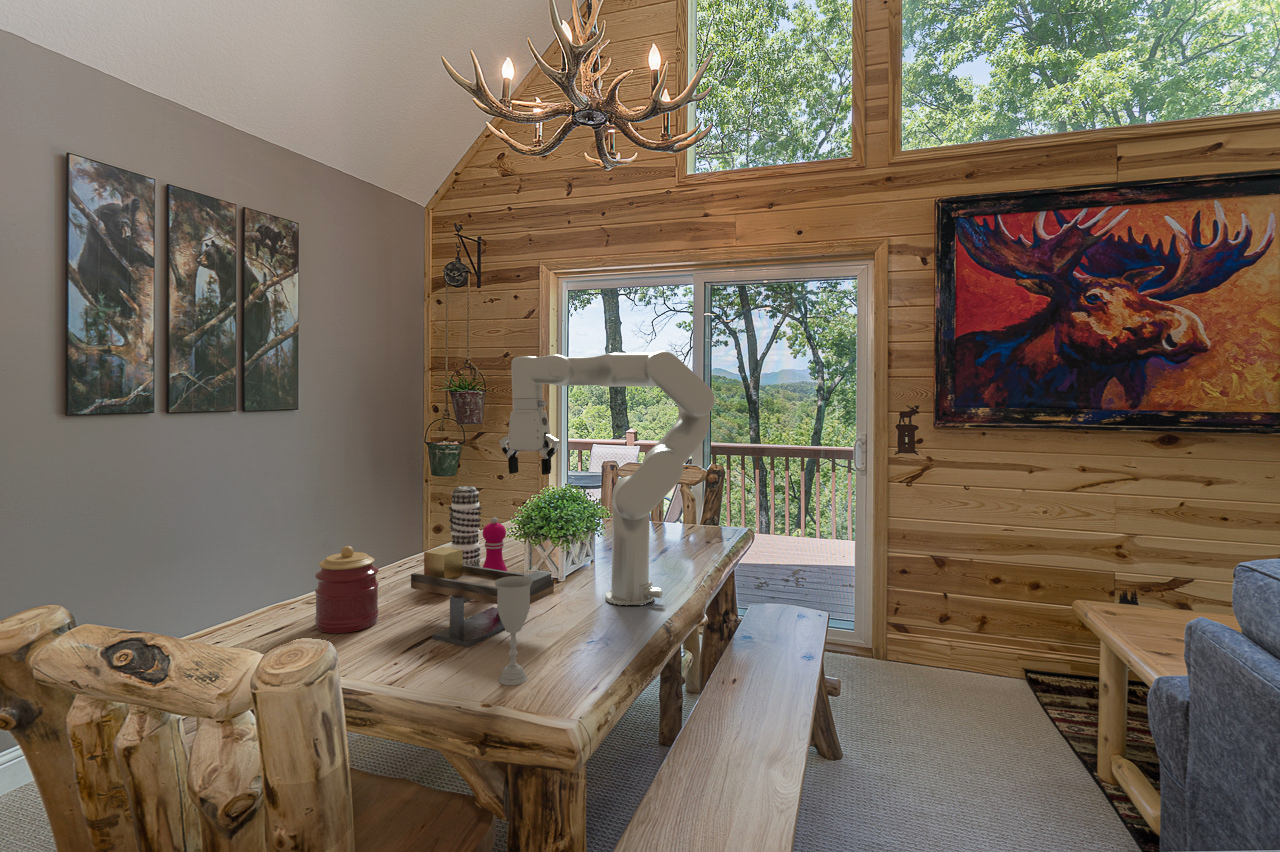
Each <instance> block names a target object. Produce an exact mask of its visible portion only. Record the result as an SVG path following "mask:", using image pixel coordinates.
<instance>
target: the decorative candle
mask: <svg viewBox="0 0 1280 852" xmlns="http://www.w3.org/2000/svg"><path fill="white" fill-rule="evenodd" d="M479 493H480V491H478V490H477V488H476V487H475V486H467V485H464V486H457V487H455V488H454V489H453V491H452V492H450V494H451V496H452V497H451V506H449V507H448V510H449V511H450V513H449V514H448V515H449V517H450V518H449V522H450V526H449V529H450V534H451V545H450V548H456V549H463V564H464V565H470V566H476V567H481V564H480V562H481V559H480V556H481V553H480V550H481V547H480V541H479V537H480V536H479V534H480V533H481V530H480V529H479V528H480V527H481V526H482V525H481V524H480V522H481V521H482V519H481V518H480V517H479V516H481V515H482V512H481V510H482V509H483V507H482V506H481V505H480V501H479V499H480V498H479V497H480V496H479Z"/></svg>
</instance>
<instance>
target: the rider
mask: <svg viewBox="0 0 1280 852" xmlns="http://www.w3.org/2000/svg"><path fill="white" fill-rule="evenodd" d="M423 575H429V576H434V577H440V578H446V579H453V578H456V577H459V576H462V575H463V549H456V548H451V547H447V546H440V547H437V548H433V549H430V550H426V551H424V553H423Z"/></svg>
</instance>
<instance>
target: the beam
mask: <svg viewBox="0 0 1280 852" xmlns="http://www.w3.org/2000/svg"><path fill="white" fill-rule="evenodd" d="M509 576H523V577H528V578H531V579H532V580H533V582H532V584H531V586H530V605H532V604H534V603H536V602H537V601H539V600H542V599H544V598H546V597H548V596H550V595H552V594H554V592H555V591H554V590H555V587H554V585H555V581H554V580H555V578H552V573H550V572H545V571H537V570H536V571H533V572H531V573H529V574H526V573H521V572H515V571H508V570H507V571H502V570H496V569H489V568H483V566H480V567H476V566H470V565H464V564H463V575H462V576H459V577H456V578H453V579H446V578H440V577H434V576H429V575H424V573H417V572H412V573H410V589H413V590H418V591H424V592H429V593H433V594H438V593H439V595H446V596H449V597H451V596H454V595H458V596H463V597H464V604H467V603H469V602H472V601H478V602H484V603H489V604H493V605H494V604H495V605H497V587H496V585H495V581H496V580H498V579H500V578H503V577H509Z"/></svg>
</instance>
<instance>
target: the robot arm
mask: <svg viewBox="0 0 1280 852" xmlns="http://www.w3.org/2000/svg"><path fill="white" fill-rule="evenodd" d="M510 365H511V369H510V370H511V391H512V392H511V394H512V401H511V402H512V411H510V415H509V421H508V434H507V435H506V436H504V437H503V438H501V439H499V441H498V443H499V445H500V447H501V451H502V453H503V454H504V455H505V457H506V458H507V460H508V461H507V462H508V464H507V466H508V473H509V475H512V474H517V473H519V457H518V456H517V455H518V454H519V452H539V453H540V455H541V456H542V458H541V460H540V461H541V462H540V463H541V465H540V466H541V475H543V476H547V475H550V474H552V473H551V472H552V459H553V457H554V455H555V454H556V453H557V452H558V448H559V445H560V443H561V442H560V441H561V440H559V439H558V438H556V437H554V436H552V435H551V429H550V428H551V427H550V423H549V417H548V413H547V411H546V410H544V407H547V404H548V402H547V400H544V398H543V394H544V393H543V392H544V391H543V384H545V385H553V386H560V387H561V386H566V387H567V386H599V387H607V388H608V387H609V388H610V387H611V388H613V387H614V388H615V387H617V388H618V387H622V388H623V387H658V388H659V389H660V390H661V391H662V392H663V393H664V394H665V395H667V396H668V397H669V398H670V399H671V400H672V401H673V402H674V403H675V404H676V407H677V409H678V415H677V419H676V421H675V423H674V424H673V425H672V426H671V428H670V429H668V431H667V432H666V433H665V434H664V436H663V437H662V438H661V439H660V440H659V441H658V442H656V444H655V445H654V446H652V448H651V449H649V450H648V452H646V454H645V455H644V457H643V459H642V463H641V465H640V466H639V467H638V468H636V470H635V471H634V472H633V473H632V474H631V475H627V476H625V477H621V479H619V480H618V481H617V482H616V484H615V485H614V486H613V490H612V497H611V503H612V506H611V508H612V513H611V514H612V532H611V533H612V534H611V535H612V538H611V589H610V590H608V591H606V593H605V594H604V595H605V600H606V601H607V602H609V603H610V604H612V603H613V605H616V604H617V606H621V605H626V606H625V607H628V606H627V605H640V606H642V605H641V604H645V603H648V602H651V601H652V600H653V599H654V600H655V598H656V599H662V597H663V590H662V588H660V587H654V586H653V581H652V580H649V579H650V577H649V575H650V571H649V570H650V568H649V567H650V566H649V565H650V532H651V531H650V530H651V529H650V513H651V512H652V511H653V510H654V509H655V508H656V507H657V506H658V505H659V504H660V502H662V500H663V499H664V498H665V497H666V496H668V494H669V493H670V492H671V491H672V490H673V489H674V488H675V487H676V486H677V484H678V483H679V481H680V480H681V477H682V475H683V474H684V465H685V463H686V462H687V461H688V460H689V459H690V457H691V456H693V454H694V453H695V452H696V450H698V448H699V447H700V445H702V443H703V442H704V441H705V439H706V437H707V435H708V432H709V429H710V423H711V411H712V409H714V408H713V407H714V405H715V395H714V392H713V390H712V389H711V387H710V386H709V385H708V384H707V383H706V382H705V381H703V380H702V379H701V378H700V377H699V375H697V374H696V373H695V372H694V371H692V369H690V368H689V367H688V366H687V365H686V364H685V363H684V362H683V361H682V360H680V358H679V357H678V356H676V355H675V354H674V353H672V352H670V351H667V350H659V351H656V352H632V353H631V352H612V353H605V354H601V355H596V356H583V357H582V356H578V357H576V356H575V357H570V356H569V357H568V356H567V357H566V356H564V355H562V354H552V355H551V354H549V355H544V356H533V355H532V356H531V355H530V356H529V355H528V356H527V355H526V356H523V355H522V356H515V357H514V358H513V359H512V360H511V363H510ZM654 600H653V601H654ZM653 601H652V602H653ZM652 602H651V603H652ZM645 605H646V604H645Z"/></svg>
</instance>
